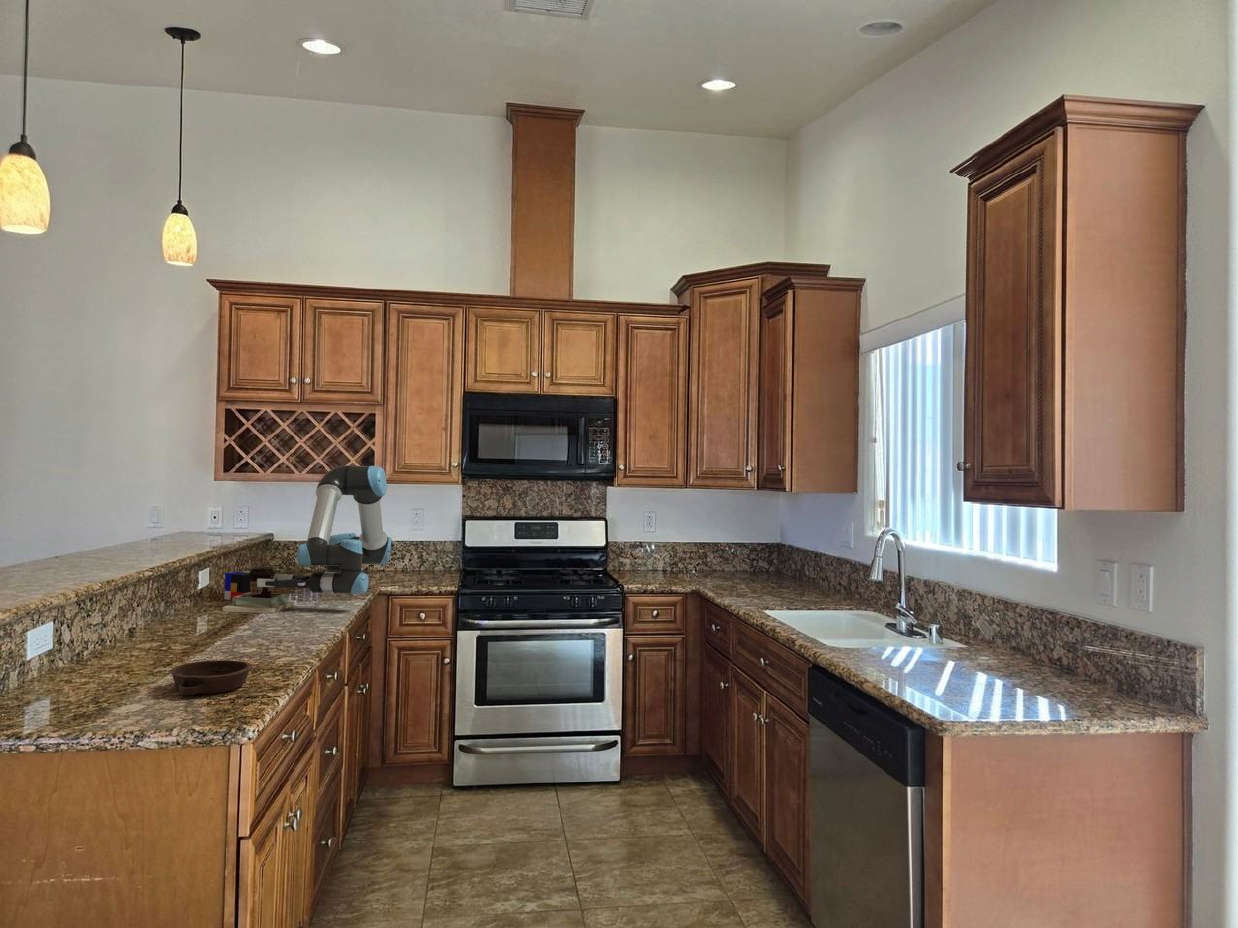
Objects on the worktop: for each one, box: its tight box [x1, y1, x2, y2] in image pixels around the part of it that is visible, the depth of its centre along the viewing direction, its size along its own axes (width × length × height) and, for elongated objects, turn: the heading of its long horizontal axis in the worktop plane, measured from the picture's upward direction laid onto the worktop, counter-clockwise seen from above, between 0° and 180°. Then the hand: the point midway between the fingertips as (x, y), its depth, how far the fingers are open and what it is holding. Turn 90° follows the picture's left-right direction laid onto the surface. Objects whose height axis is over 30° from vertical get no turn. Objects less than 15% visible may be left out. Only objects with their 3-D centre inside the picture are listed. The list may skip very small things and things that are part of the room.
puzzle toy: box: [224, 570, 251, 601], centre depth 338 cm, size 10×10×10 cm
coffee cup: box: [249, 566, 276, 598], centre depth 319 cm, size 9×8×13 cm
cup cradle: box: [222, 592, 297, 614], centre depth 319 cm, size 20×18×4 cm
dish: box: [169, 659, 253, 696], centre depth 206 cm, size 17×22×5 cm
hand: (266, 580), depth 318 cm, fingers open, 13 cm apart
